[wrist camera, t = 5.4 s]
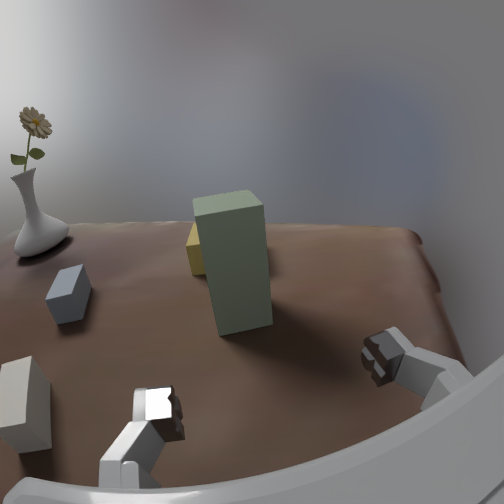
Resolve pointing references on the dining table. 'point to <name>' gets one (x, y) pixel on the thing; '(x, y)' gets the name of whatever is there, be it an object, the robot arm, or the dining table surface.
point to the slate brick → (69, 295)
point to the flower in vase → (37, 223)
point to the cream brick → (25, 406)
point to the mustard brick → (195, 252)
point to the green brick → (235, 259)
